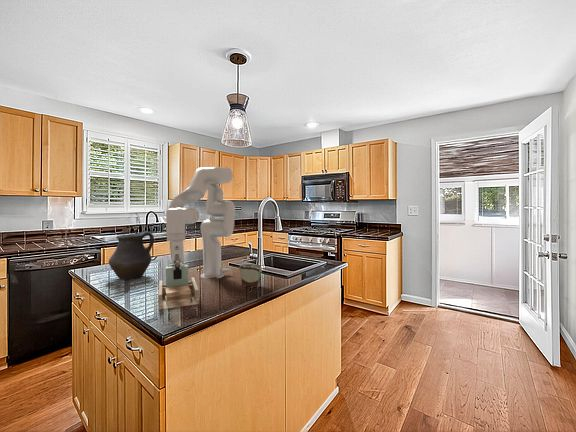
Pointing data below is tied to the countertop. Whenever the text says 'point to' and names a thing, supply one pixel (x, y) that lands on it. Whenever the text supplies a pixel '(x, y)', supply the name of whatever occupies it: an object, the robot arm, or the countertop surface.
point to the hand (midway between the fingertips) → (177, 276)
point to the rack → (193, 301)
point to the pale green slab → (176, 282)
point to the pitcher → (131, 256)
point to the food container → (250, 275)
